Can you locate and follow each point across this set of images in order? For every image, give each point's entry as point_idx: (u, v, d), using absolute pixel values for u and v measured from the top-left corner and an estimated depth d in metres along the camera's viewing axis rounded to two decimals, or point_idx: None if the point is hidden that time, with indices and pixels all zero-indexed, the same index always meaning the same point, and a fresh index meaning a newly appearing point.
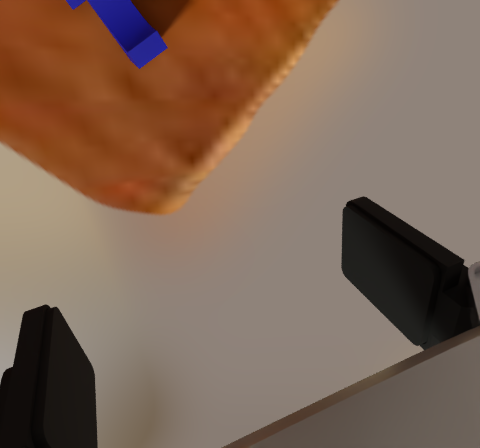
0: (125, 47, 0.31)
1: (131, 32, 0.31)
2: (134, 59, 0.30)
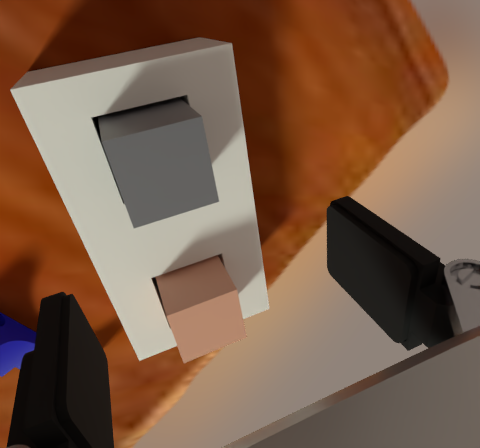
0: None
1: None
2: None
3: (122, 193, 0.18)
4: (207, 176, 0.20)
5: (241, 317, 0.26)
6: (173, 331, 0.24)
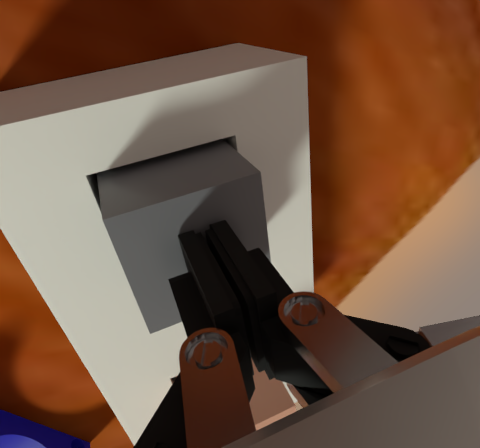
0: None
1: None
2: None
3: (134, 290, 0.12)
4: None
5: None
6: None
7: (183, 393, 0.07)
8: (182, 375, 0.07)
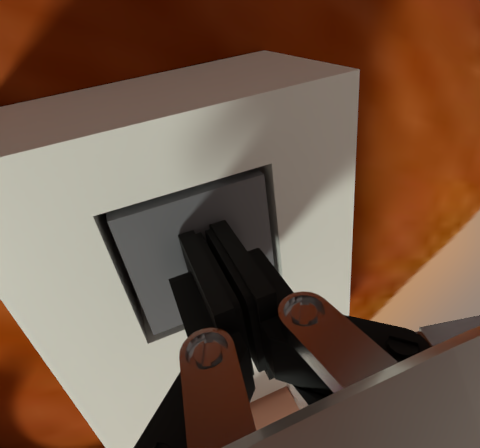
0: None
1: None
2: None
3: (138, 291, 0.12)
4: None
5: None
6: None
7: (183, 393, 0.07)
8: (182, 375, 0.07)
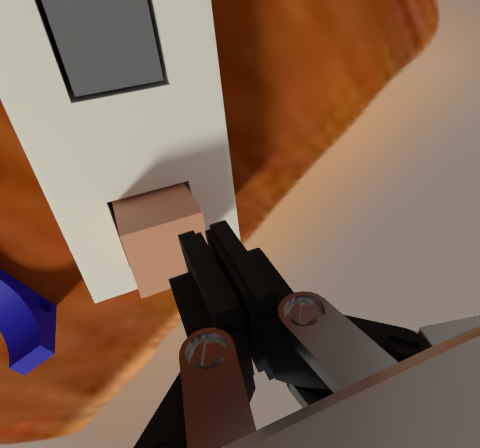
0: (10, 351, 0.29)
1: (18, 330, 0.30)
2: (17, 370, 0.29)
3: (61, 53, 0.19)
4: (150, 48, 0.20)
5: None
6: (128, 257, 0.21)
7: (183, 393, 0.07)
8: (182, 375, 0.07)
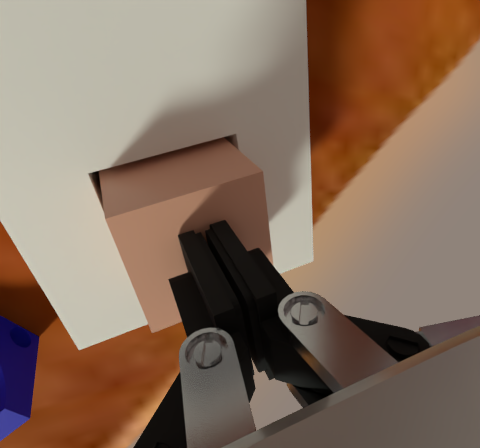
0: None
1: None
2: None
3: None
4: None
5: (268, 240, 0.13)
6: (124, 259, 0.11)
7: (183, 393, 0.07)
8: (182, 375, 0.07)
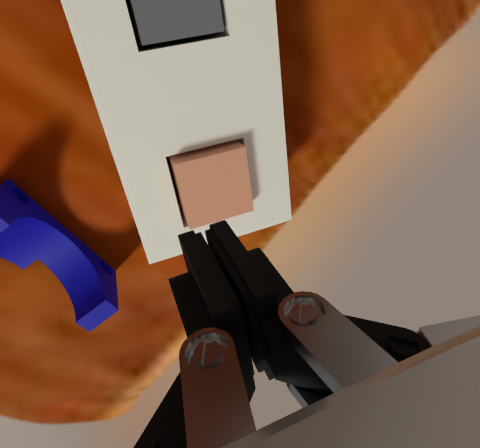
0: (75, 308, 0.30)
1: (82, 288, 0.30)
2: (83, 326, 0.29)
3: (132, 1, 0.19)
4: None
5: (249, 183, 0.26)
6: (180, 186, 0.24)
7: (183, 393, 0.07)
8: (182, 375, 0.07)
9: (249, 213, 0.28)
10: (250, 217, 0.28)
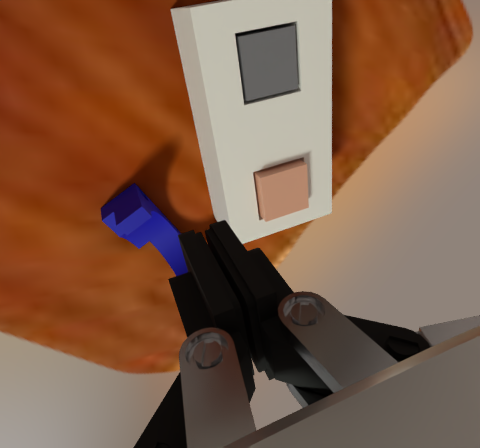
0: None
1: (182, 262, 0.41)
2: None
3: (244, 74, 0.30)
4: (293, 68, 0.31)
5: (307, 189, 0.37)
6: (263, 192, 0.35)
7: (183, 393, 0.07)
8: (182, 375, 0.07)
9: (303, 209, 0.39)
10: (303, 212, 0.39)
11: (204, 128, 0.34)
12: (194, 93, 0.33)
